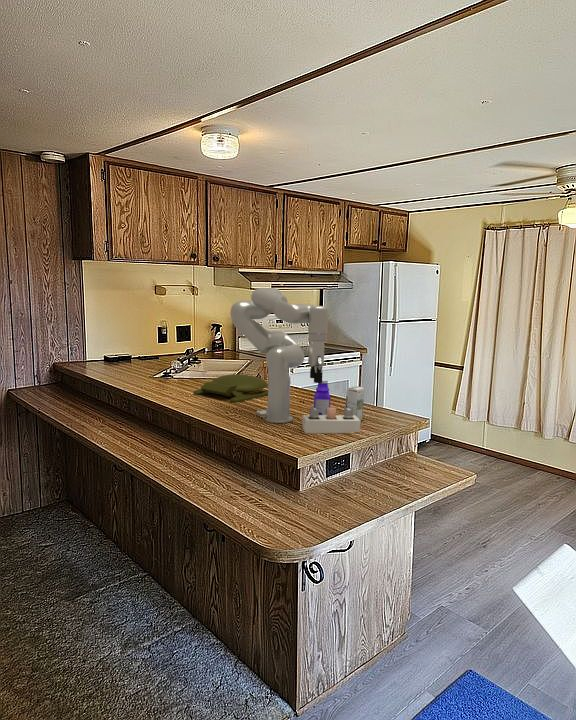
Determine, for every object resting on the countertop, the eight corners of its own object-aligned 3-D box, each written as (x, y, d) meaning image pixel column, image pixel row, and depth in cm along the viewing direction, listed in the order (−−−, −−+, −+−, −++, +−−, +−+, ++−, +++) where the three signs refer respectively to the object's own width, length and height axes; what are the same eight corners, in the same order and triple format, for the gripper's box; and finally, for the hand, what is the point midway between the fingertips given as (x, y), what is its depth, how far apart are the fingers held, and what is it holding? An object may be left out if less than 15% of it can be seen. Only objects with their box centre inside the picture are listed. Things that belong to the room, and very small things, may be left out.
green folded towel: (235, 404, 259) (235, 384, 257) (190, 395, 277) (191, 376, 275) (279, 393, 286) (279, 375, 285) (236, 385, 305) (236, 368, 303)
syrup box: (351, 417, 237) (353, 385, 235) (363, 420, 234) (364, 387, 231) (344, 420, 233) (345, 387, 231) (356, 422, 229) (357, 389, 227)
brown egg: (327, 422, 214) (327, 409, 213) (325, 420, 217) (326, 407, 216) (336, 422, 214) (336, 409, 213) (334, 420, 218) (335, 407, 217)
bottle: (328, 417, 237) (330, 378, 234) (330, 420, 231) (331, 380, 229) (312, 417, 237) (313, 378, 234) (313, 420, 231) (314, 380, 228)
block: (305, 433, 211) (305, 420, 210) (302, 427, 220) (302, 415, 219) (359, 433, 213) (360, 420, 212) (355, 427, 222) (355, 415, 221)
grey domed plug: (344, 422, 214) (345, 409, 214) (342, 420, 218) (343, 407, 217) (353, 422, 215) (354, 409, 214) (351, 420, 218) (352, 407, 218)
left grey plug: (309, 422, 213) (310, 409, 212) (308, 420, 217) (309, 407, 216) (318, 422, 213) (319, 409, 213) (317, 420, 217) (318, 407, 216)
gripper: (305, 335, 218) (303, 376, 221) (311, 339, 201) (309, 384, 204) (323, 335, 219) (321, 376, 222) (331, 340, 202) (329, 384, 205)
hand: (315, 380), depth 213 cm, fingers open, 9 cm apart
